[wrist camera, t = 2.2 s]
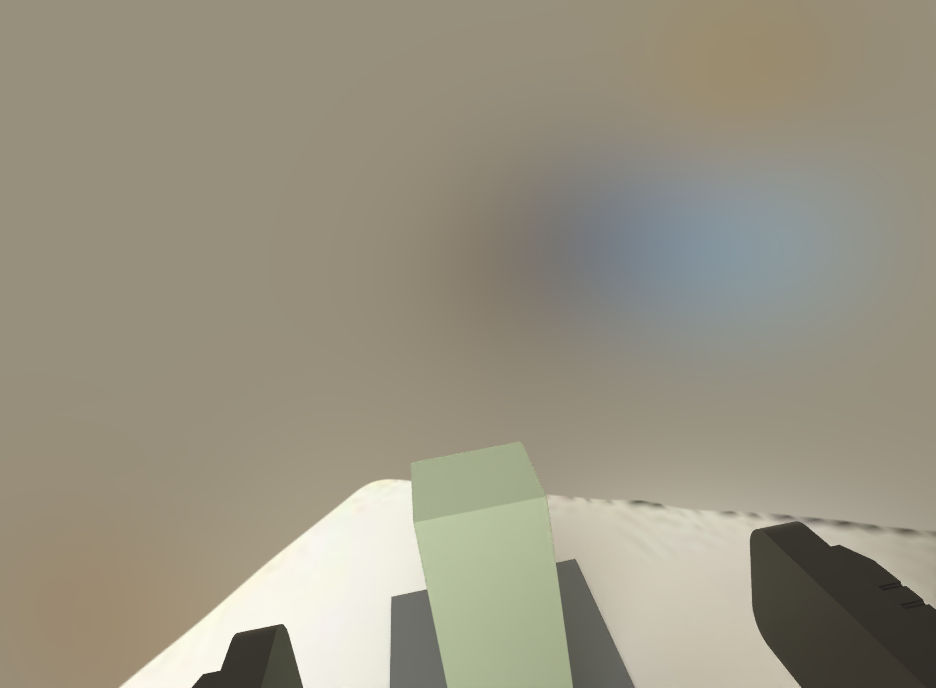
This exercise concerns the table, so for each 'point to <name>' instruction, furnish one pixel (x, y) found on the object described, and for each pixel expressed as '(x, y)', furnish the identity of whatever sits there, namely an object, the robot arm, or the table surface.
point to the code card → (588, 639)
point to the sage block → (490, 569)
